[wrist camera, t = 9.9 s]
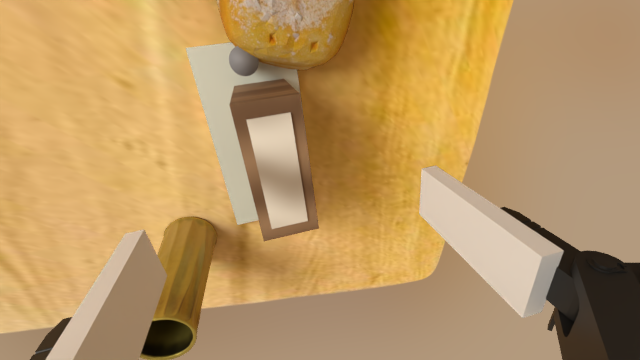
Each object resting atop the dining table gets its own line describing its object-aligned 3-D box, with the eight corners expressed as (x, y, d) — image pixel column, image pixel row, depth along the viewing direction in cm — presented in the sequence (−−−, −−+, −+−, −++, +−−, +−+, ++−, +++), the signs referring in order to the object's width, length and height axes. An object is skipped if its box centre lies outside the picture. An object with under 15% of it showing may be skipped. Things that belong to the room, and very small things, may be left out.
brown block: (234, 85, 28) (229, 105, 20) (283, 78, 29) (300, 94, 20) (259, 189, 34) (264, 242, 25) (300, 181, 35) (319, 229, 26)
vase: (154, 226, 34) (101, 332, 22) (204, 209, 35) (181, 302, 22) (179, 262, 37) (145, 374, 24) (224, 246, 38) (214, 347, 25)
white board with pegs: (290, 35, 29) (300, 33, 24) (313, 203, 38) (324, 227, 33) (187, 47, 27) (175, 48, 22) (237, 219, 36) (236, 247, 31)
